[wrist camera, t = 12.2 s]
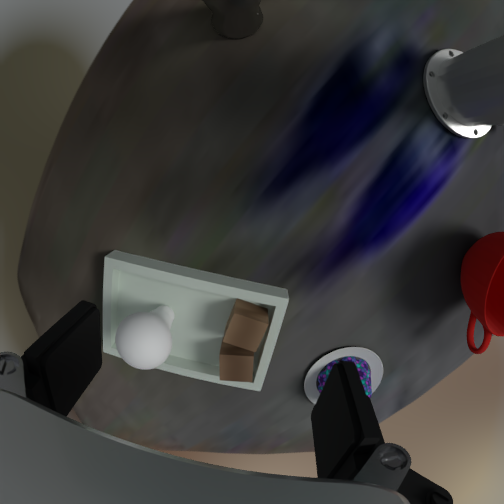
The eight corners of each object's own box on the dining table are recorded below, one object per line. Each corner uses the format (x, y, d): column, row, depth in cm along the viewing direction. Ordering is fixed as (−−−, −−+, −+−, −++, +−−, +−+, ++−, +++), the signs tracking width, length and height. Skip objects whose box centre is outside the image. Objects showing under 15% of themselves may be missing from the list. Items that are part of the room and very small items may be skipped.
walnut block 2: (254, 338, 39) (253, 356, 35) (252, 363, 40) (252, 382, 36) (222, 336, 39) (219, 354, 35) (222, 361, 40) (219, 380, 36)
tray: (286, 288, 37) (289, 299, 35) (260, 377, 41) (260, 391, 38) (115, 249, 37) (104, 256, 34) (111, 341, 40) (103, 351, 38)
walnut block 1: (267, 308, 37) (268, 324, 34) (256, 334, 38) (255, 352, 35) (236, 297, 37) (234, 312, 33) (225, 324, 38) (222, 341, 34)
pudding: (359, 328, 39) (371, 349, 34) (393, 377, 42) (404, 398, 37) (287, 374, 41) (290, 399, 36) (329, 416, 44) (334, 439, 39)
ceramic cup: (419, 321, 39) (452, 359, 29) (462, 208, 34) (510, 222, 24) (474, 333, 39) (507, 365, 30) (514, 236, 35) (556, 253, 25)
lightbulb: (197, 327, 38) (171, 376, 27) (156, 337, 39) (122, 384, 28) (178, 283, 37) (144, 320, 26) (137, 296, 38) (95, 333, 27)
